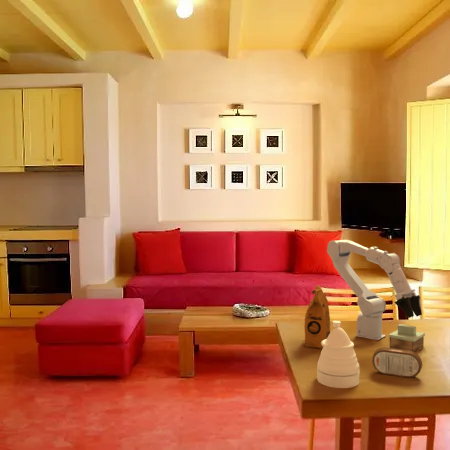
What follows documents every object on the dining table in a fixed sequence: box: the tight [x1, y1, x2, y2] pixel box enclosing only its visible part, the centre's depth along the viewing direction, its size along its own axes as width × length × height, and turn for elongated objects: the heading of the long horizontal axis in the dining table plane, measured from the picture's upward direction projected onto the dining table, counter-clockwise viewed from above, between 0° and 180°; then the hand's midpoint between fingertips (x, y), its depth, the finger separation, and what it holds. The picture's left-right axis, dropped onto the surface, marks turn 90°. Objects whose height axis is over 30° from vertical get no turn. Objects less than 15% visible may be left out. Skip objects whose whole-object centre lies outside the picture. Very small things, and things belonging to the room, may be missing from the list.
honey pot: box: [316, 320, 360, 389], centre depth 156 cm, size 13×13×18 cm
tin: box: [371, 346, 423, 379], centre depth 160 cm, size 15×3×8 cm, turn 64°
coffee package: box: [303, 284, 331, 349], centre depth 194 cm, size 10×12×22 cm
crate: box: [389, 336, 425, 353], centre depth 189 cm, size 9×10×4 cm
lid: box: [388, 323, 426, 342], centre depth 189 cm, size 10×11×5 cm
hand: (415, 316), depth 188 cm, fingers open, 7 cm apart
